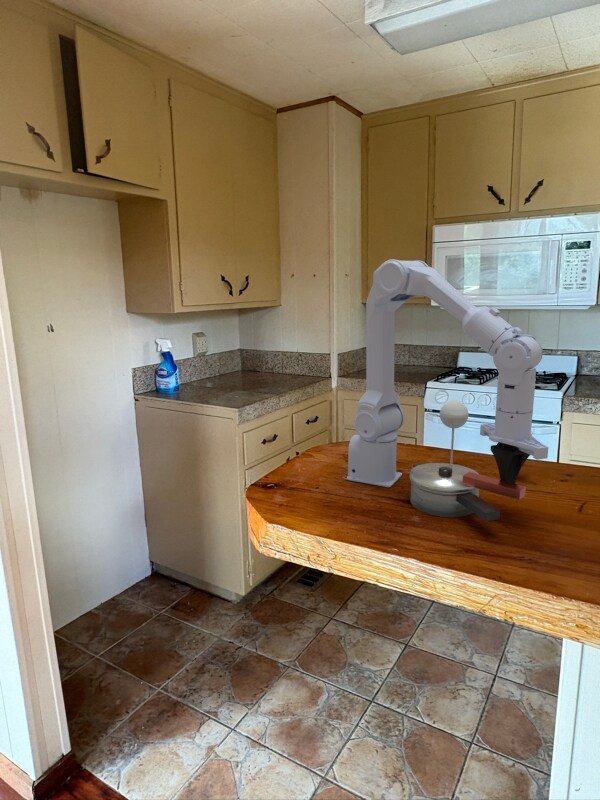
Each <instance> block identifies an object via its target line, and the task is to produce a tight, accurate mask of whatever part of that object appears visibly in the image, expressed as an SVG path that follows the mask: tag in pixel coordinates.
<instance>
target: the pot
mask: <svg viewBox="0 0 600 800" xmlns="http://www.w3.org/2000/svg"><path fill="white" fill-rule="evenodd" d="M422 464H427V463H426V462H422V463H413V465H412V468H414V467H416V466H418V465H422ZM409 479H410V478H409ZM409 481H410V503H411V505H412V506H413V508H415V509H417V510H418V511H420V512H423V513H425V514H428V515H433V516H437V517H443V518H461V517H466V516H470V515H472V514H473V515H474V514H475V515H476V516H478V517H479V518H481V519H482V520H483V521H485V522H488V521H495V520H500V516H501V510H500V509H498V508H497V507H495V506H493V504H491V503H489V502H487V500H486V501H485V500H484V499H482V497H479V496H480V489H478V488H476V489H474V490H471V491H466V492H440V491H434V490H430V489H426V488H423V487H421V486H418V485H416V484H415V483H413V482H412V481H411V479H410V480H409Z"/></svg>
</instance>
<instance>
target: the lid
mask: <svg viewBox="0 0 600 800" xmlns="http://www.w3.org/2000/svg"><path fill="white" fill-rule="evenodd" d="M409 479H411V481H412V482H413V483H415V484H416V485H418V486H421V487H423V488H426V489H430V490H434V491H440V492H466V491H471V490H474V489H476V488H478V489H479V490H482V491H486V492H489V493H493V494H497V495H500V496H504V497H508V498H511V499H514V500H519V501H520V500H521V499H522V498H524V497H525V496H526V491H527V486H525V485H521V484H517V483H515V484H514V483H510V482H506V481H502V480H501V479H498V478H494V477H490V476H486V475H483V474H481V473H479V472H477V470H474V469H473V468H470V467H468V466H463V465H460V464H454V463H452V464H450V463H448V462H447V463H446V462H428V463H426V464H422V465H418V466H416V467H414V468H413V467H412V468H411V469H410V470H409ZM411 481H410V482H411Z"/></svg>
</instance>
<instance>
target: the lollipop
mask: <svg viewBox="0 0 600 800" xmlns="http://www.w3.org/2000/svg"><path fill="white" fill-rule="evenodd" d="M469 415H470V414H469V410H468V408H467V406H466V405H465V404H464V403H463V402H461V401H458V400H451V401H447V402H445V403H444V404H443V405H442V406H441V408H440V410H439V419H440V421H441V423H442V424H443V425H444V426H445V427H447V428H449V429H451V444H450V459H449V460H450V461H449V464H453V459H454V458H453V457H454V455H453V454H454V442H455V441H454V440H455V429H458V428H459V429H460V428H461V427H463V426H464V425H465V424H466V423H467V421H468V419H469Z"/></svg>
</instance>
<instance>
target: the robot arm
mask: <svg viewBox="0 0 600 800" xmlns="http://www.w3.org/2000/svg"><path fill="white" fill-rule="evenodd" d="M372 280H373V281H372V286H371V288H370V291H369V293H368V296H367V299H366V304H365V305H366V306H365V307H366V308H365V310H366V311H365V312H366V319H365V320H366V321H365V322H366V325H365V326H366V328H365V331H366V334H365V335H366V341H365V343H366V345H365V346H366V353H365V354H366V356H365V357H366V358H365V359H366V361H365V363H366V364H365V365H366V371H365V372H366V373H365V375H366V380H365V381H366V382H365V383H366V386H365V387H366V390H365V393H363V395H362V396H361V398H360V399H359V400H358V402H357V411H356V414H355V415H354V419H353V426H354V430H355V432H356V434H354V435H352V436H351V438H350V441H349V444H348V451H347V452H348V456H347V457H348V458H347V460H348V461H347V463H348V464H347V465H348V466H347V477H346V480H348V481H352V482H356V483H357V482H358V483H362V484H363V483H364V484H368V485H372V486H373V485H374V486H378V487H383V488H392V486H394V484H395V483H396V482H397V481H398V480H399V479H400V478H401V477H402V476H403V473H402V472H399V471H397V447H398V445H397V444H398V443H397V441H398V439H397V438H398V436H399V430H400V429H401V428H402V427H403V425H404V423H405V413H404V411H403V408H402V406H401V405H402V404H401V397H400V395H399V394H398V393H397V392H396V391H395V345H396V343H395V342H396V341H395V337H396V336H395V335H396V331H395V329H396V328H395V325H396V323H395V322H396V321H395V320H396V310H398V309H399V308H400V307H401V306H402V305H404V303H406V302H407V301H408V300H410V299H412V298H414V297H416V296H418V297H426V298H428V299H430V300H431V301H433V302H434V303H435V304H437V306H439V307H441V308H442V309H444V310H445V311H446V312H448V313H449V314H450V315H452V316H453V317H454V318H455V319H457V320H459V321H460V323H461V324H462V325H461V326H462V332H463V334H464V335H466V337H468V338H469V339H470V340H471V341H473V343H475V344H476V345H477V346H479V347H480V348H481V349H482V350H483V351H484V352H486V353H487V354H488V355H489V356H491V357H492V360H493V365H494V366H495V367H496V369H497V371H498V375H497V376H498V379H497V387H496V389H497V390H496V401H495V403H496V404H495V416H494V418H495V419H494V424H492V423H482V424H480V430H479V431H480V432H479V433H480V435H479V436H482V437H486V436H487V437H488V440H489V441H491V442H493V443H496V444H494V445H493V444H491V445H490V451H491V454H492V456H493V457H494V460H495V462H496V465H497V469H498V473H499V478H500V479H499V480H502V481H506V482H510V483H514V484H516V481H517V479H518V477H519V474H520V471H521V469H522V467H523V466H524V464H525V462H527V460H528V458H529V457H530V456H532V458H533V459H534V460H537V461H538V460H543V459H544V460H547V459H548V457H549V446H547V445H545V444H543V443H541V442H540V441H539V440H538V439H537V438H535V436H533V435H532V436H531V431H532V424H533V423H532V422H533V411H534V403H535V393H536V392H535V390H536V374H537V368H536V367H537V366H538V365H539V364H540V363H541V361H542V359H543V356H544V355H543V353H544V351H543V347H542V344H541V342H539V341H538V340H537V339H536V338H537V337H535V336H533V335H531V334H522V332H523V331H522V329H521V328H520V327H518V326H517V327H514V326H512V325H511V324H510V323H509V322H507V321H506V320H505V319H504V318H502V317H501V316H500V315H499V314H500V313H501V311H500V310H499V309H497V308H496V307H491V308H489V307H488V306H484V305H483V306H479V307H477V306H475V305H474V304H473V302H471V301H469V300H468V299H467V297H465V296H464V295H463V294H462V293H461V292H460V291H459V290H458V289H456V288H455V287H454V286H453V285H451V283H449V282H448V280H446V279H445V278H444V277H443V276H442V275H440V274H439V272H438V271H437V269H435V268H433V267H431V266H429V265H428V264H427V263H426V262H425V261H423V260H419V259H414V260H398V259H393V258H392V259H388V260H386V261H384V262H382V263H381V265H380V266H378V267H377V268H376V269H375V271H374V272H373V273H372Z"/></svg>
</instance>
